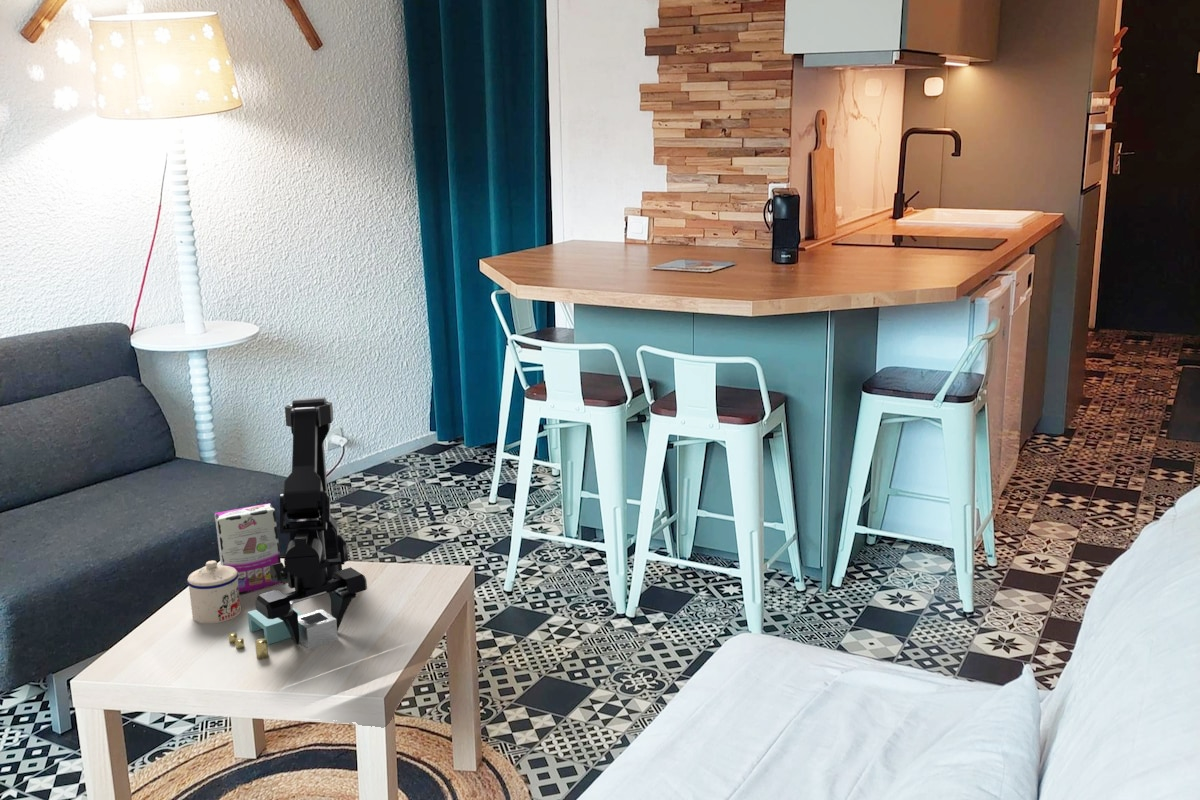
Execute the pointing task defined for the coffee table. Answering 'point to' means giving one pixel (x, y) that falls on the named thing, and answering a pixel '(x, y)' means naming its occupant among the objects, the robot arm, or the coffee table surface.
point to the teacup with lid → (214, 593)
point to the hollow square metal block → (317, 628)
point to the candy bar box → (249, 544)
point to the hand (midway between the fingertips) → (316, 636)
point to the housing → (269, 626)
